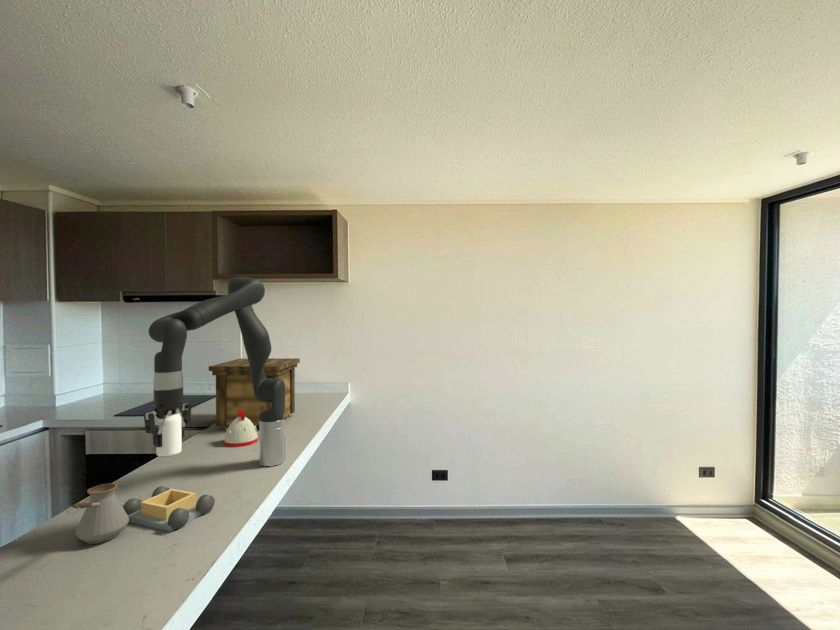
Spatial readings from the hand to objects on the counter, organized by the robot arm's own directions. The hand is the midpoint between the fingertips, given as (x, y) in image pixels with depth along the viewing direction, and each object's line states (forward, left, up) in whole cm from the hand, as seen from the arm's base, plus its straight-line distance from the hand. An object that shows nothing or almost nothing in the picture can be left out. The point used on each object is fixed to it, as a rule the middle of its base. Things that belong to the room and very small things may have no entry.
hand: (169, 442), depth 124 cm
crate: (-92, -48, -21) cm, 106 cm away
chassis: (0, 0, -21) cm, 21 cm away
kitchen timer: (-62, -31, -21) cm, 72 cm away
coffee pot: (+19, -3, -21) cm, 29 cm away
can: (0, 0, -3) cm, 3 cm away
